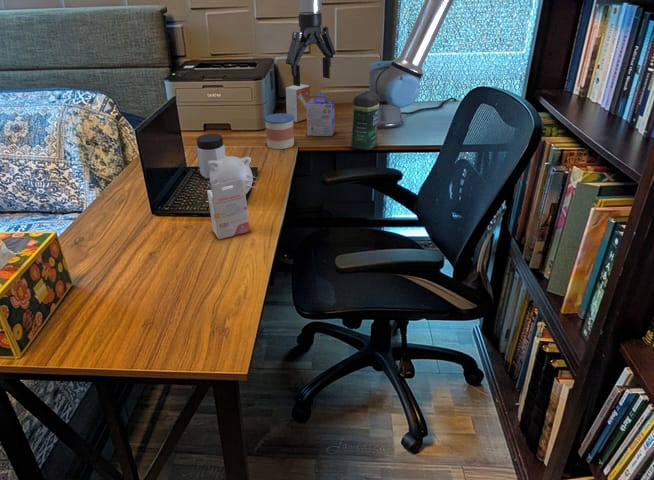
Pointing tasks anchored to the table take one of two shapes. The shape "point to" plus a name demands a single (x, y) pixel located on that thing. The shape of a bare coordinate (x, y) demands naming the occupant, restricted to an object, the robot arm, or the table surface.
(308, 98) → the small box
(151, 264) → the table surface
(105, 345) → the table surface
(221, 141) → the jar
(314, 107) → the ink cartridge box
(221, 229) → the ink cartridge box
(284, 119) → the yogurt tub
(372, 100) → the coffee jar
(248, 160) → the cat head
